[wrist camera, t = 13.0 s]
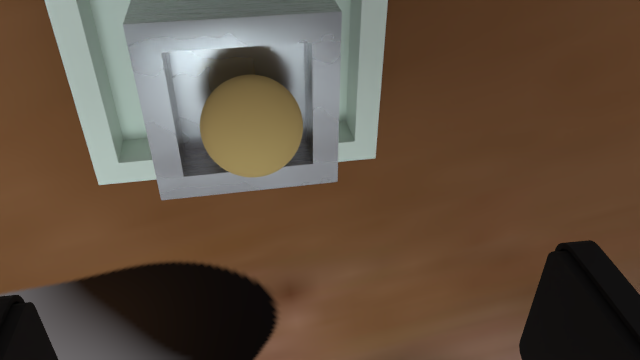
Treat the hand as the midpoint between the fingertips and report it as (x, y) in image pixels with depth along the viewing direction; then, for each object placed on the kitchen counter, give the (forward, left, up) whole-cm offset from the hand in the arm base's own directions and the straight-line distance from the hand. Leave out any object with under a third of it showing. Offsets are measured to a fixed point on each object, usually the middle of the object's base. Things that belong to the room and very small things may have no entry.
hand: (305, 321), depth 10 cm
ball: (0, 0, -7) cm, 7 cm away
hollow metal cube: (+1, 0, -15) cm, 15 cm away
